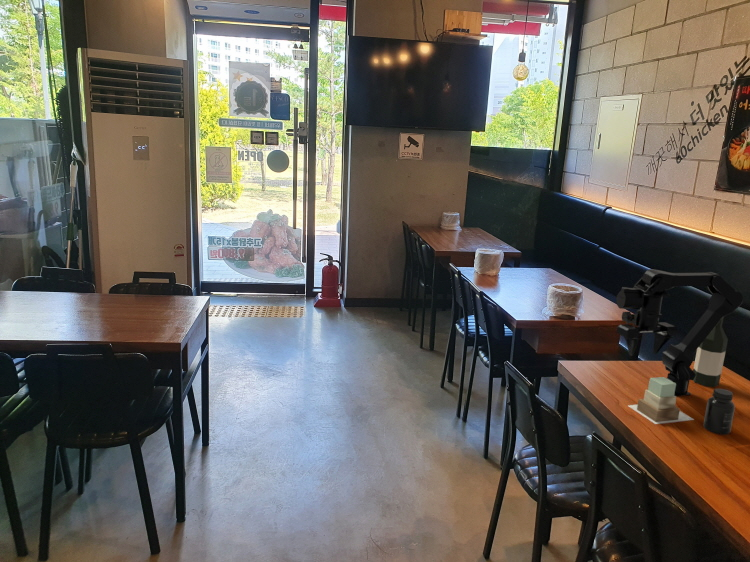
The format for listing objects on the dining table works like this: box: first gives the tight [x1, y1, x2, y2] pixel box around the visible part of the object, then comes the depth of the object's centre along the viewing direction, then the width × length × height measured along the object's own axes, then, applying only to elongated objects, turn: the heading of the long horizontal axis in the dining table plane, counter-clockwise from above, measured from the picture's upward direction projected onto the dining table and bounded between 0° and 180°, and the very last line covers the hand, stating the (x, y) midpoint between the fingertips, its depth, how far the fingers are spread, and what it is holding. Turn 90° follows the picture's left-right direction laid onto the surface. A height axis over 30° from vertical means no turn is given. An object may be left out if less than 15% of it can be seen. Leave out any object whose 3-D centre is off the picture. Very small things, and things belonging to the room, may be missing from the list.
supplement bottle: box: [703, 388, 736, 436], centre depth 161 cm, size 7×7×12 cm
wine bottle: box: [692, 316, 729, 388], centre depth 193 cm, size 8×8×30 cm
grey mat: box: [627, 403, 695, 425], centre depth 171 cm, size 14×12×1 cm
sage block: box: [647, 376, 676, 397], centre depth 168 cm, size 5×5×4 cm
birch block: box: [643, 389, 678, 409], centre depth 169 cm, size 6×6×4 cm
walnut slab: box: [636, 398, 681, 422], centre depth 170 cm, size 8×8×4 cm
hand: (642, 354), depth 183 cm, fingers open, 9 cm apart
